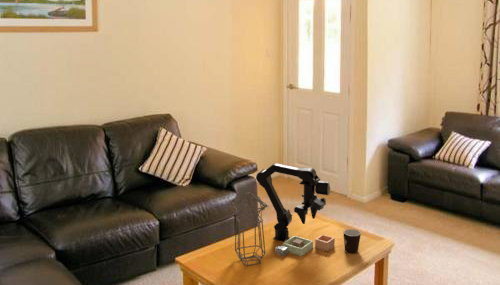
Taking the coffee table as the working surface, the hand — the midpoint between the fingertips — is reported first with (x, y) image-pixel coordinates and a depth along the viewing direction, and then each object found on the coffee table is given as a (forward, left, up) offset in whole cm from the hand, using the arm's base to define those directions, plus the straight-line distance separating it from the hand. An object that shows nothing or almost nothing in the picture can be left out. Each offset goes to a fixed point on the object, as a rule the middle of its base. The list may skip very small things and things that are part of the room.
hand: (308, 221), depth 262 cm
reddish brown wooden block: (-4, -19, -12) cm, 23 cm away
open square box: (+10, 0, -12) cm, 16 cm away
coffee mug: (+22, +6, -12) cm, 26 cm away
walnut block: (0, -10, -12) cm, 15 cm away
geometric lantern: (-13, -34, -12) cm, 38 cm away
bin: (0, -10, -12) cm, 16 cm away
